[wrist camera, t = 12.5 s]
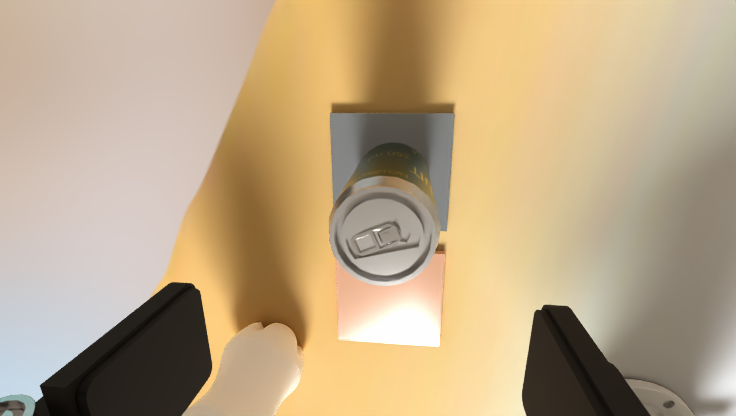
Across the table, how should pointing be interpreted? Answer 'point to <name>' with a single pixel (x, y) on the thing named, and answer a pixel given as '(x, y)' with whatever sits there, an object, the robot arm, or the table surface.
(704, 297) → the table surface
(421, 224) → the beer can
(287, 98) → the table surface
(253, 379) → the water bottle
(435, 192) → the slate coaster
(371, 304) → the terracotta coaster
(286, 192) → the table surface
